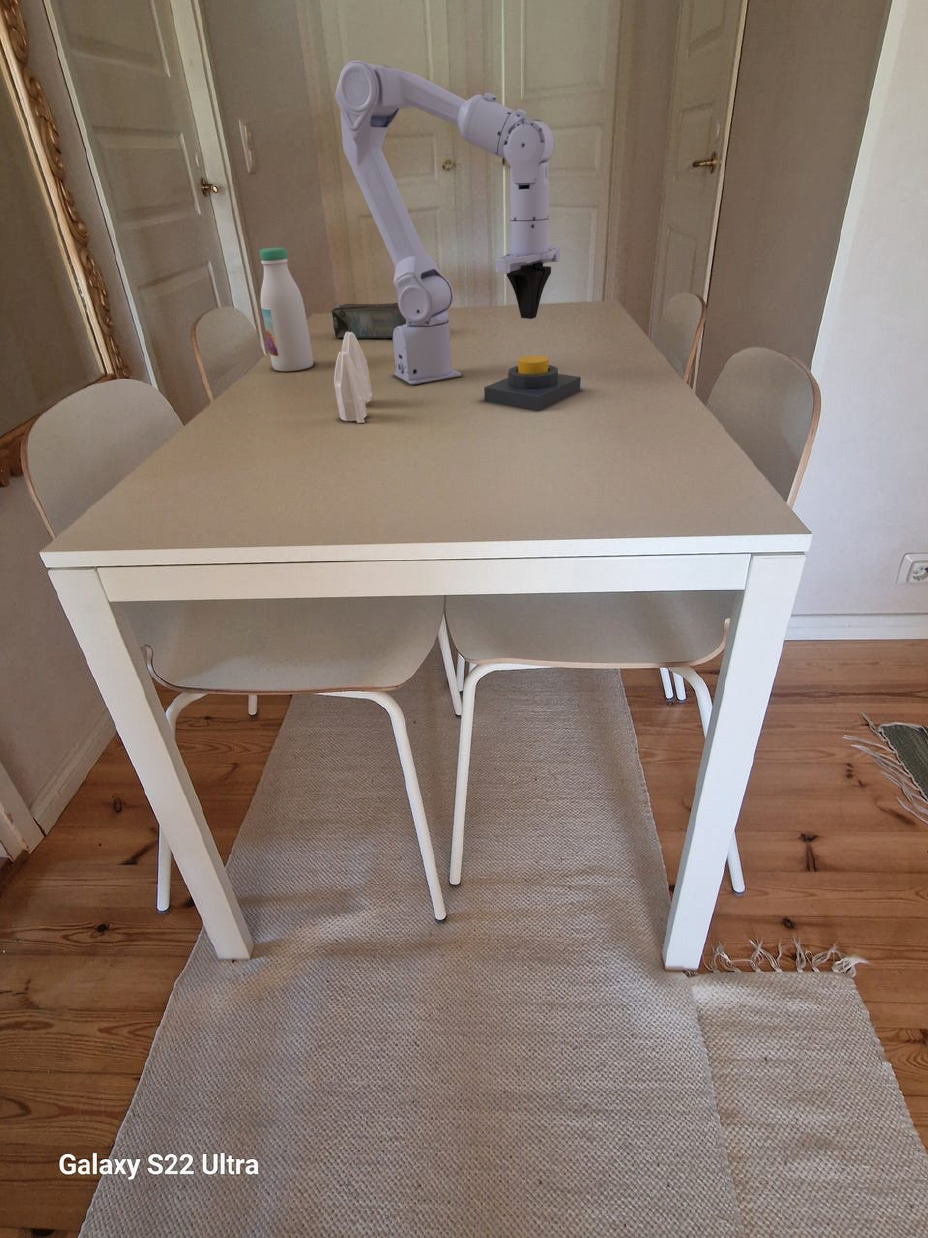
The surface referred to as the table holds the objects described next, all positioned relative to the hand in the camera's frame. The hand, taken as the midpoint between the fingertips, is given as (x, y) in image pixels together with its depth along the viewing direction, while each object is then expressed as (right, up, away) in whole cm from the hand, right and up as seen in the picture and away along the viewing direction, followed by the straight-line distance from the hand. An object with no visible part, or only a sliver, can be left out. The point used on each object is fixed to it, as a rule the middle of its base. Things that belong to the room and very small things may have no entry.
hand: (528, 317), depth 109 cm
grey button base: (+1, -13, -2) cm, 13 cm away
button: (0, -10, -4) cm, 11 cm away
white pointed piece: (-27, -16, -4) cm, 32 cm away
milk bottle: (-43, 0, +21) cm, 48 cm away
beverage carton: (-29, +14, +41) cm, 52 cm away
